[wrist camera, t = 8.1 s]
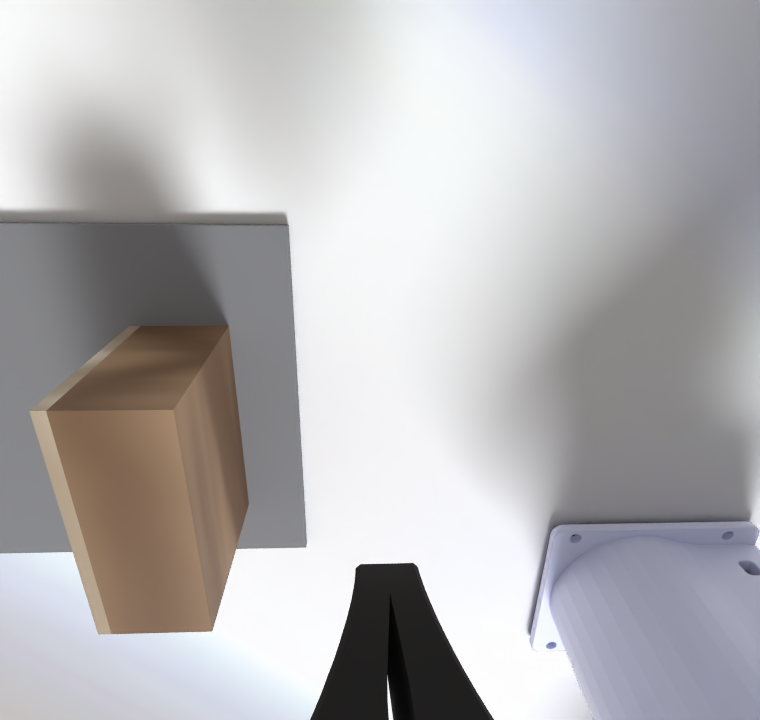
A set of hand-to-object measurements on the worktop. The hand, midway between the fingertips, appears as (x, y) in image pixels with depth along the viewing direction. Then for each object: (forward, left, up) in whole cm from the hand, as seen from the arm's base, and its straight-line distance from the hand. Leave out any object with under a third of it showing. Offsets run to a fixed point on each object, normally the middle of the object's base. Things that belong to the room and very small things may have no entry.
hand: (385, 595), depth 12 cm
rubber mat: (+10, 0, -9) cm, 13 cm away
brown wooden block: (+7, +1, -9) cm, 11 cm away
